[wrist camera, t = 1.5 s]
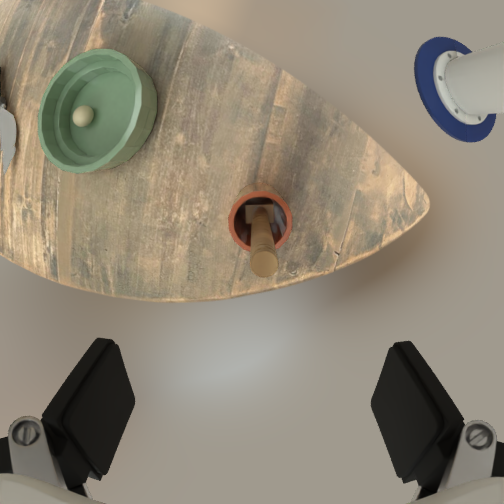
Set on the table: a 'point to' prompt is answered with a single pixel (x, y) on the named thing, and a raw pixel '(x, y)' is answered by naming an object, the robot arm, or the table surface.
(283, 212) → the utensil cup
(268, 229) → the wooden masher
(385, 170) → the table surface
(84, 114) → the bead
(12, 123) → the knife
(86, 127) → the bowl
